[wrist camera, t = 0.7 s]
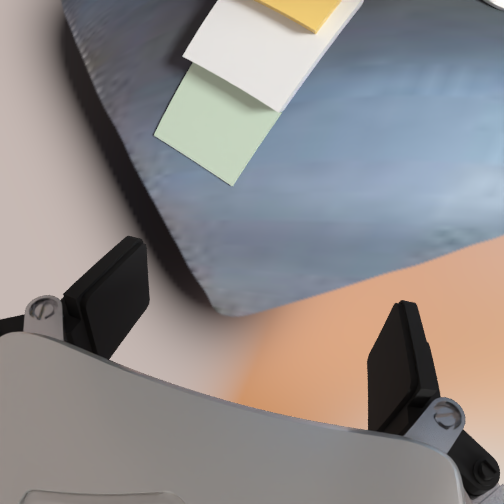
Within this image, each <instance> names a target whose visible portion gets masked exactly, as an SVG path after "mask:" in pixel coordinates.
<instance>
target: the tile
mask: <svg viewBox="0 0 504 504" xmlns="http://www.w3.org/2000/svg"><path fill="white" fill-rule="evenodd" d="M254 1H256V2H258V3H260V4H262V5H264V6H266V7H268V8H270V9H272V10H274V11H276V12H278V13H280V14H281V15H283V16H285V17H287V18H289V19H291V20H292V21H294V22H296V23H298V24H299V25H301V26H303V27H304V28H306V29H308V30H310V31H311V32H313V33H314V34H316V33H317V32H318V31H319V29H320V28H321V27H322V26H323V24H324V23H325V22H326V20H327V19H328V18H329V16H330V15H331V14H332V12H333V11H334V10H335V9H336V7H337V6H338V5H339V4H340V2H341V1H342V0H254Z"/></svg>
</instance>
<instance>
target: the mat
mask: <svg viewBox="0 0 504 504" xmlns="http://www.w3.org/2000/svg"><path fill="white" fill-rule="evenodd" d="M281 113H282V112H279V113H278V112H277V111H275V110H274V109H272V108H270V107H269V106H267V105H266V104H264V103H263V102H261V101H259V100H258V99H256V98H255V97H253V96H251V95H250V94H248V93H247V92H245V91H243V90H242V89H240V88H238V87H237V86H235V85H233V84H231V83H230V82H228V81H226V80H225V79H223V78H221V77H219V76H218V75H216V74H214V73H212V72H210V71H209V70H207V69H205V68H203V67H201V66H200V65H198V64H196V63H194V62H193V63H192V65H191V66H190V68H189V70H188V72H187V73H186V75H185V77H184V79H183V80H182V82H181V84H180V86H179V88H178V89H177V91H176V93H175V95H174V97H173V99H172V100H171V102H170V104H169V106H168V108H167V110H166V112H165V114H164V116H163V118H162V120H161V122H160V124H159V126H158V128H157V130H156V132H155V134H154V136H156V137H157V138H159V139H160V140H162V141H164V142H165V143H167V144H168V145H170V146H171V147H173V148H175V149H176V150H178V151H179V152H181V153H182V154H184V155H185V156H187V157H188V158H190V159H192V160H193V161H195V162H196V163H198V164H199V165H201V166H202V167H204V168H205V169H207V170H208V171H210V172H211V173H213V174H214V175H216V176H217V177H219V178H220V179H222V180H223V181H225V182H226V183H228V184H229V185H231V186H233V185H234V183H235V182H236V180H237V179H238V177H239V176H240V174H241V173H242V171H243V170H244V168H245V167H246V165H247V164H248V162H249V160H250V159H251V157H252V156H253V154H254V153H255V151H256V150H257V149H258V147H259V146H260V144H261V143H262V141H263V140H264V138H265V137H266V135H267V134H268V132H269V131H270V129H271V128H272V126H273V125H274V124H275V122H276V121H277V119H278V118H279V116H280V115H281Z"/></svg>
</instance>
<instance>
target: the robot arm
mask: <svg viewBox="0 0 504 504" xmlns="http://www.w3.org/2000/svg"><path fill="white" fill-rule="evenodd" d="M483 1H485V2H486V3H488V4H490V5H491V6H493V7H495V8H497V9H500V10H503V11H504V0H483ZM63 295H64V297H63V298H62V299H61V300H59V299H58V298H56V297H55V296H50V295H45V296H40V297H38V298H35V299H34V300H32V301H31V302H30V303H29V304H28V305H27V307H26V310H25V315H20V316H15V317H10V318H6V319H1V320H0V504H504V485H503V484H502V485H501V486H500V485H499V484H498V481H499V478H500V469H499V466H498V463H497V462H496V460H495V459H494V458H493V457H492V456H491V455H490V454H489V453H488V452H487V451H486V450H485V449H483V448H482V447H481V446H480V445H479V444H478V443H477V442H476V441H475V440H474V439H473V438H472V437H471V436H469V435H468V434H467V433H466V432H465V431H464V430H463V428H464V425H465V414H464V411H463V410H462V408H461V406H460V405H459V404H458V403H457V402H455V401H454V400H452V399H449V398H446V397H440V391H439V386H438V381H437V376H436V372H435V367H434V363H433V358H432V354H431V350H430V346H429V343H428V342H427V341H426V338H425V334H424V330H423V326H422V322H421V319H420V315H419V311H418V307H417V305H416V303H413V302H408V301H404V300H401V301H400V302H399V303H395V304H394V306H393V308H392V310H391V312H390V314H389V316H388V318H387V320H386V322H385V324H384V326H383V328H382V330H381V332H380V334H379V336H378V338H377V340H376V342H375V344H374V346H373V348H372V350H371V352H370V354H369V356H368V361H367V369H368V430H363V429H356V428H350V427H344V426H338V425H333V424H327V423H321V422H315V421H311V420H305V419H300V418H296V417H291V416H286V415H282V414H277V413H273V412H269V411H265V410H260V409H256V408H252V407H248V406H245V405H241V404H237V403H233V402H230V401H226V400H223V399H219V398H216V397H212V396H209V395H206V394H202V393H199V392H196V391H193V390H190V389H186V388H184V387H180V386H178V385H175V384H172V383H169V382H166V381H163V380H160V379H157V378H154V377H152V376H149V375H146V374H144V373H141V372H138V371H135V370H133V369H130V368H128V367H125V366H123V365H120V364H118V363H115V362H113V361H111V360H109V359H110V358H111V356H112V355H113V353H114V352H115V351H116V349H117V348H118V346H119V345H120V343H121V342H122V341H123V340H124V338H125V337H126V335H127V334H128V333H129V331H130V330H131V328H132V327H133V326H134V325H135V323H136V322H137V321H138V319H139V318H140V317H141V315H142V314H143V313H144V311H145V310H146V309H147V307H148V305H149V300H150V298H149V284H148V268H147V248H146V244H144V243H143V241H142V239H140V238H135V237H131V236H127V237H125V238H124V239H123V240H122V241H121V242H120V243H118V244H117V245H116V246H115V247H114V248H113V249H112V250H110V251H109V252H108V253H107V254H106V255H105V256H104V257H103V258H102V259H100V260H99V261H98V262H97V263H96V264H95V265H94V266H93V267H91V268H90V269H89V270H88V271H87V272H86V273H85V274H84V275H83V276H82V277H81V278H80V279H79V280H77V281H76V282H75V283H74V284H73V285H72V286H71V287H70V288H69V289H68V290H67V291H66V292H65V293H64V294H63Z"/></svg>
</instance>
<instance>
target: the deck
mask: <svg viewBox="0 0 504 504" xmlns="http://www.w3.org/2000/svg"><path fill="white" fill-rule="evenodd" d="M363 2H364V0H342V1H341V2H340V4H339V5H338V6H337V7H336V9H335V10H334V11H333V12H332V14H331V15H330V16H329V18H328V19H327V20H326V22H325V23H324V24H323V26H322V27H321V28H320V29H319V31H318V32H317V33H316V34H314V33H313V32H311V31H310V30H308V29H306V28H304V27H303V26H301V25H299V24H298V23H296V22H294V21H292V20H291V19H289V18H287V17H285V16H283V15H281V14H280V13H278V12H276V11H274V10H272V9H270V8H268V7H266V6H264V5H262V4H260V3H258V2H256V1H254V0H218V1H217V2H216V4H215V5H214V7H213V8H212V10H211V11H210V13H209V14H208V16H207V17H206V19H205V20H204V22H203V23H202V25H201V27H200V28H199V30H198V31H197V33H196V35H195V36H194V38H193V39H192V41H191V43H190V44H189V46H188V48H187V49H186V51H185V53H184V54H183V57H184V58H186V59H188V60H190V61H192V62H194V63H196V64H198V65H200V66H201V67H203V68H205V69H207V70H209V71H210V72H212V73H214V74H216V75H218V76H219V77H221V78H223V79H225V80H226V81H228V82H230V83H231V84H233V85H235V86H237V87H238V88H240V89H242V90H243V91H245V92H247V93H248V94H250V95H251V96H253V97H255V98H256V99H258V100H259V101H261V102H263V103H264V104H266V105H267V106H269V107H270V108H272V109H274V110H275V111H277V112H278V113H279V112H281V111H284V109H285V108H286V106H287V105H288V103H289V102H290V101H291V99H292V98H293V96H294V95H295V93H296V92H297V91H298V89H299V88H300V86H301V85H302V84H303V82H304V81H305V80H306V78H307V77H308V75H309V74H310V73H311V71H312V70H313V68H314V67H315V66H316V64H317V63H318V62H319V60H320V59H321V58H322V56H323V55H324V54H325V52H326V51H327V50H328V48H329V47H330V46H331V44H332V43H333V42H334V40H335V39H336V38H337V36H338V35H339V34H340V32H341V31H342V30H343V28H344V27H345V26H346V24H347V23H348V22H349V21H350V19H351V18H352V17H353V15H354V14H355V13H356V12H357V10H358V9H359V8H360V7H361V5H362V4H363Z"/></svg>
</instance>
